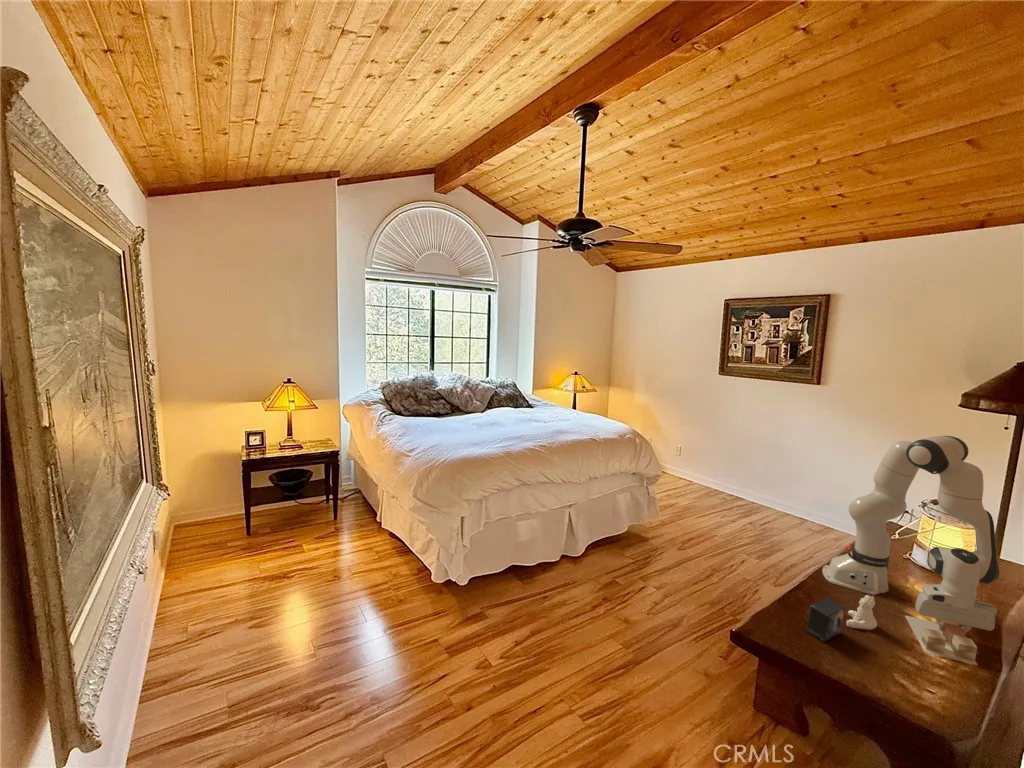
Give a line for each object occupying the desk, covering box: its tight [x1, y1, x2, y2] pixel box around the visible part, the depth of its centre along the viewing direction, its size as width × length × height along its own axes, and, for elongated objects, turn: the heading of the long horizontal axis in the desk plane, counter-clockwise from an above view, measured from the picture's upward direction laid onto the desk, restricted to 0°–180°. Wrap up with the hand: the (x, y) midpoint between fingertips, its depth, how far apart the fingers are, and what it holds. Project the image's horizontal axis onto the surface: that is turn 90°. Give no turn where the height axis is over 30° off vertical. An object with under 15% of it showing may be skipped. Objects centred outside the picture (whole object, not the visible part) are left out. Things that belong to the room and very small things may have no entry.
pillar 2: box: [951, 635, 978, 661], centre depth 152 cm, size 4×4×5 cm
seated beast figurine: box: [845, 594, 878, 631], centre depth 166 cm, size 10×9×12 cm
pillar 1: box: [922, 628, 946, 654], centre depth 155 cm, size 4×4×5 cm
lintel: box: [935, 620, 968, 645], centre depth 161 cm, size 4×12×4 cm, turn 154°
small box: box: [806, 597, 845, 643], centre depth 162 cm, size 11×6×10 cm, turn 117°
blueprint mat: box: [904, 614, 979, 666], centre depth 160 cm, size 14×20×1 cm, turn 154°
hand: (950, 632), depth 161 cm, fingers closed on lintel, 4 cm apart
